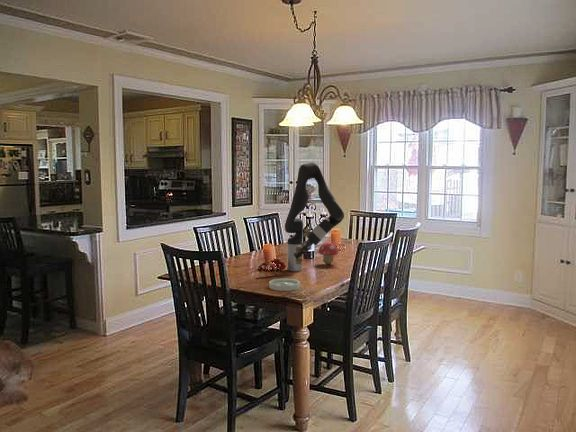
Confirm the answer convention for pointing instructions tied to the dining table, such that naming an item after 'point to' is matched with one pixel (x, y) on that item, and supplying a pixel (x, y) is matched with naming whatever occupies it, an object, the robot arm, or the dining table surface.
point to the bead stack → (299, 260)
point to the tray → (284, 284)
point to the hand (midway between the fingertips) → (295, 256)
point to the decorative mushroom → (328, 252)
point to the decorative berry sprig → (276, 268)
